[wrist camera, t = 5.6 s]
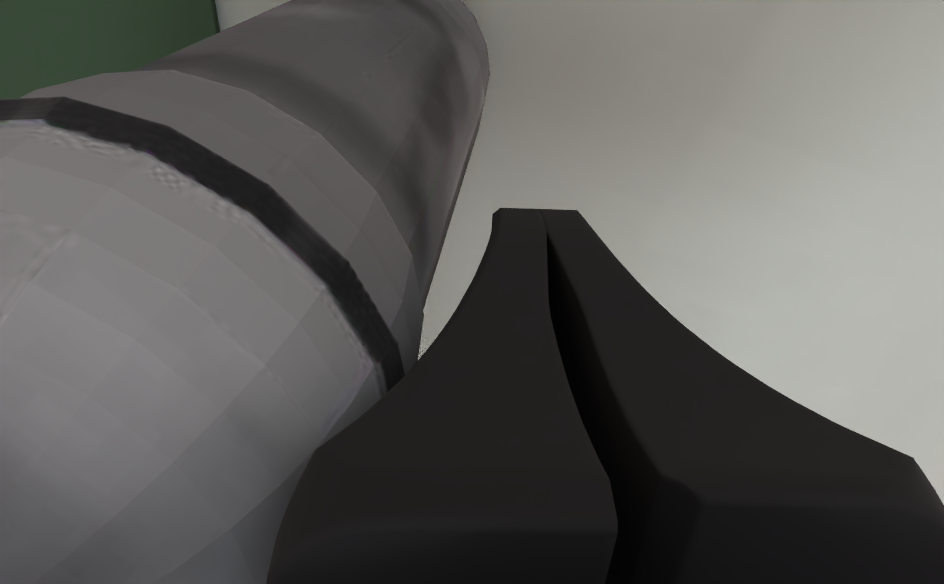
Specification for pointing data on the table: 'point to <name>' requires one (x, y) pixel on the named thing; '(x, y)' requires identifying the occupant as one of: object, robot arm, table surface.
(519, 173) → the table surface
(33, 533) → the beverage cup
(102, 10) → the mat
